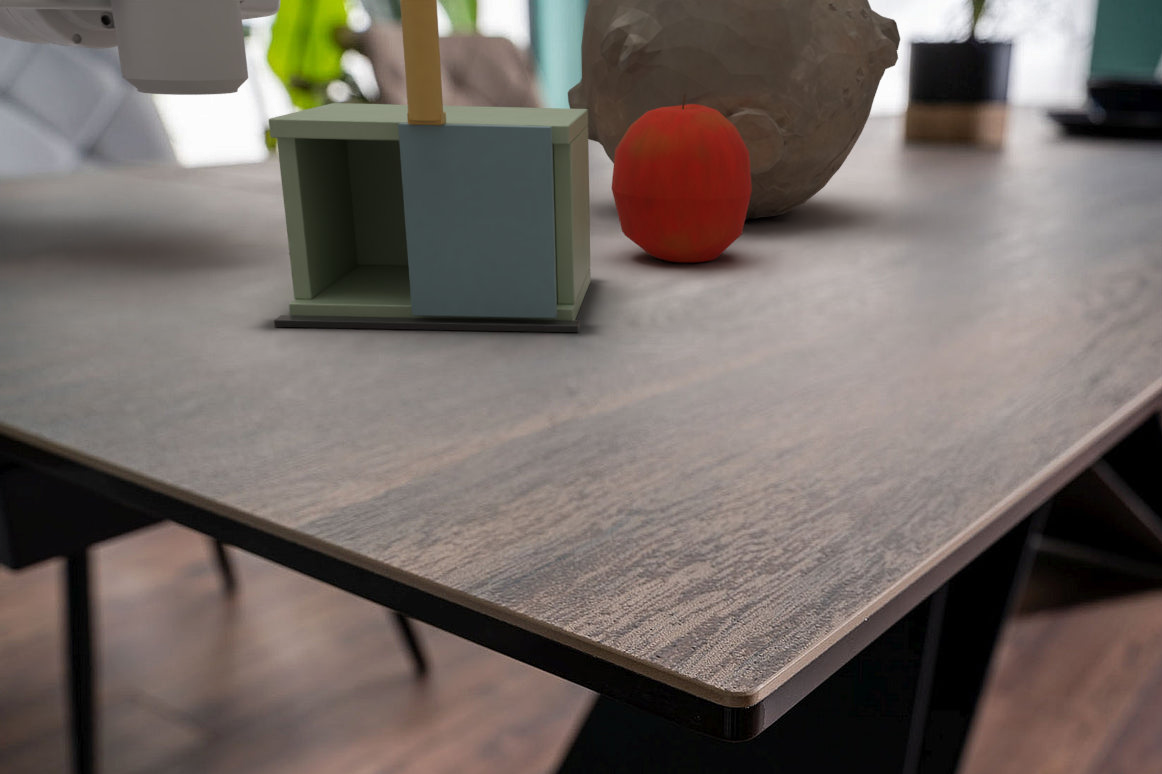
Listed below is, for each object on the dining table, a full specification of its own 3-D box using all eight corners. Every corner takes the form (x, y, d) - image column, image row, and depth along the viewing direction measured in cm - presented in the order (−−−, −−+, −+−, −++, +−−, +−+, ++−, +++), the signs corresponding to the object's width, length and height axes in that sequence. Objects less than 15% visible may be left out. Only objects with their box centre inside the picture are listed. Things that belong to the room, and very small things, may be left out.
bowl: (882, 247, 94) (902, -30, 86) (532, 229, 97) (523, -37, 90) (890, 198, 119) (906, -19, 111) (612, 186, 122) (609, -25, 115)
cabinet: (274, 327, 66) (250, 120, 62) (342, 277, 78) (325, 102, 74) (577, 332, 66) (573, 128, 62) (596, 282, 79) (594, 109, 75)
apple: (664, 240, 94) (665, 87, 90) (775, 255, 89) (782, 94, 85) (585, 260, 86) (582, 92, 82) (703, 277, 81) (706, 100, 77)
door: (408, 319, 65) (377, -93, 58) (415, 312, 67) (386, -90, 59) (554, 322, 65) (542, -89, 58) (557, 314, 67) (546, -86, 60)
